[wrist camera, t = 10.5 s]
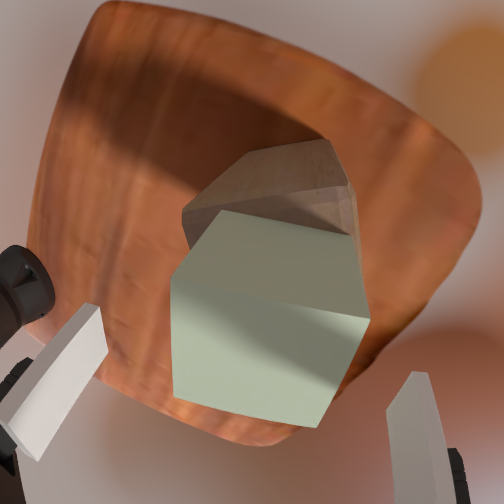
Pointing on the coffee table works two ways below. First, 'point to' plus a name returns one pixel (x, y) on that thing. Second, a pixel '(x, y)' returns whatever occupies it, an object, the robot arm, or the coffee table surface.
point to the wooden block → (282, 191)
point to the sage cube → (266, 318)
